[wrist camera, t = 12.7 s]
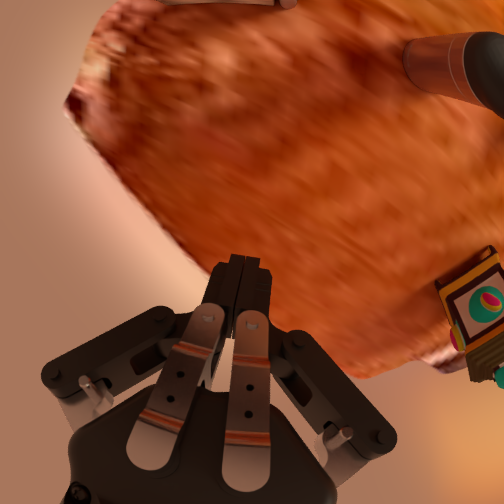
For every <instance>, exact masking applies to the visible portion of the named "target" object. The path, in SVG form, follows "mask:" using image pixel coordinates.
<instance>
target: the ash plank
mask: <svg viewBox="0 0 504 504" xmlns="http://www.w3.org/2000/svg"><path fill="white" fill-rule="evenodd" d="M156 1H159V2H161V3H163V4H166V5H176V4H190V3H247V4H261V5H271V6H274V2H275V0H156Z"/></svg>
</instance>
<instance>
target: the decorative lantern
mask: <svg viewBox="0 0 504 504" xmlns="http://www.w3.org/2000/svg"><path fill="white" fill-rule="evenodd" d="M488 251H489V253H490V255H489V256H487V257H486V258H485V259H483V260H482V261H480V262H479V263H477V264H476V265H474V266H473V267H471V268H470V269H468V270H467V271H465V272H464V273H462V274H461V275H459V276H457V277H456V278H454V279H453V280H451V281H449V282H448V283H446V284H444V285H442V284H441V283H440V281H439V280H436V281H435V287H436V289H437V291H438V294H439V296H440V299H441V301H442V304H443V307H444V309H445V312H446V315H447V318H448V321H449V324H450V326H451V327H452V328H451V329H450V337H451V341H452V344H453V346H454V348H455V349H456V350H457V351H459V352H461V351H464V350H465V358H466V362H467V367H468V371H469V376H470V381H473V382H478V383H480V382H482V381H484V380H488V379H489V380H494V382H495V381H496V382H497V385H498V387H500V388H502V389H504V270H503V269H502V267H501V265H500V260H499V255H498V252H497V251H496V249H495V248H494V247H493V246H492V245H489V246H488Z"/></svg>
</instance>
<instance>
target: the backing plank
mask: <svg viewBox="0 0 504 504" xmlns="http://www.w3.org/2000/svg"><path fill="white" fill-rule="evenodd" d="M279 1H280V5H281V6H282V7H283V8H285V9H292V8H294V7H295V6H296V4H297V0H279Z"/></svg>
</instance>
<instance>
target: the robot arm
mask: <svg viewBox="0 0 504 504" xmlns="http://www.w3.org/2000/svg"><path fill="white" fill-rule="evenodd" d="M403 65H404V68H405V71H406V73H407V75H408V77H409V78H410V80H411V81H412V82H413V83H414V84H415V85H416V86H417V87H419V88H420V89H422V90H425V91H428V92H432V93H436V94H440V95H444V96H448V97H451V98H455V99H458V100H462V101H465V102H468V103H471V104H474V105H477V106H481V107H484V108H487V109H489V110H492V111H494V112H495V113H496V114H497V115H498V116H499V117H501V118H503V119H504V35H502V34H499V33H496V32H469V33H458V34H448V35H439V36H432V37H425V38H419V39H415V40H413V41H411V42H409V43H408V44H407V46H406V47H405V49H404V53H403ZM259 263H260V258H256V257H249V256H246V260H245V256H243V255H237V254H231V256H230V260H229V263H224V262H219V263H218V264H217V265H216V266H215V267H214V268H213V271H212V273H211V276H210V279H209V282H208V285H207V288H206V291H205V294H204V297H203V300H202V302H201V305H199V306H197V307H196V308H195V310H194V311H192V312H189V313H183V314H175V313H174V312H173V310H172V309H170V308H168V307H166V306H156V307H153V308H151V309H149V310H147V311H146V312H144V313H142V314H140V315H138V316H136V317H134V318H132V319H130V320H128V321H126V322H124V323H122V324H120V325H119V326H117V327H115V328H113V329H111V330H109V331H107V332H105V333H103V334H101V335H99V336H98V337H96V338H94V339H92V340H90V341H88V342H86V343H84V344H82V345H80V346H79V347H77V348H75V349H73V350H71V351H69V352H67V353H65V354H63V355H61V356H59V357H58V358H56V359H54V360H52V361H50V362H48V363H47V364H46V365H45V366H44V367H43V369H42V372H41V379H42V382H43V384H44V385H45V386H46V387H47V388H48V389H49V390H50V391H51V393H52V394H53V395H54V396H55V397H56V398H57V399H58V401H59V403H60V406H61V408H62V410H63V412H64V414H65V416H66V418H67V420H68V422H69V424H70V426H71V428H72V430H73V431H74V434H73V435H72V437H71V439H70V441H69V445H68V456H69V461H70V468H71V481H70V486H69V488H68V490H67V492H66V494H65V496H64V498H63V499H62V501H61V503H60V504H336V502H337V489H336V488H337V487H339V486H340V485H341V484H343V483H344V482H345V481H346V480H348V479H349V478H350V477H351V476H353V475H354V474H355V473H356V472H358V471H359V470H360V469H361V468H362V467H364V466H365V465H366V464H367V463H368V462H370V461H372V460H374V459H376V458H378V457H380V456H382V455H385V454H387V453H388V452H390V451H392V450H393V448H394V447H395V445H396V443H397V433H396V431H395V429H394V428H393V427H392V426H391V425H390V423H389V422H388V421H387V420H386V419H385V418H384V417H383V416H382V415H381V414H380V413H379V411H378V410H377V409H376V408H375V407H374V406H373V405H372V404H371V402H370V401H369V400H368V399H367V398H366V397H365V396H364V395H363V394H362V392H361V391H360V390H359V389H358V388H357V387H356V386H355V385H354V384H353V382H352V381H351V380H350V379H349V378H348V377H347V376H346V375H345V373H344V372H343V371H342V370H341V369H340V368H339V367H338V366H337V364H336V363H335V362H334V361H333V360H332V359H331V358H330V357H329V355H328V354H327V353H326V352H325V351H324V350H323V349H322V348H321V346H320V345H319V344H318V343H317V342H316V341H315V340H314V338H313V337H312V336H311V335H310V334H308V333H307V332H305V331H302V330H292V331H289V332H288V333H286V332H284V331H282V330H280V329H278V328H276V327H275V326H274V325H273V324H272V323H271V322H270V320H269V305H270V295H271V285H272V275H271V273H270V271H269V270H268V269H262V268H259ZM232 330H233V333H232ZM231 334H232V339H235V342H234V351H233V362H232V370H231V380H230V391H229V392H212V391H211V387H212V382H213V379H214V376H215V373H216V370H217V367H218V364H219V360H220V357H221V354H222V351H223V347H224V344H225V339H226V338H231ZM162 368H163V369H162ZM161 369H162V371H161V373H160V375H159V378H158V380H157V382H156V384H153V385H150V386H148V387H146V388H144V389H142V390H140V391H139V392H137V393H136V394H134V395H133V396H131V397H130V398H128V399H126V400H125V401H124V402H122V403H120V404H118V405H117V406H115V407H114V408H112V409H111V407H112V405H113V402H114V399H113V397H115V396H117V395H118V394H120V393H122V392H123V391H125V390H127V389H129V388H130V387H132V386H134V385H136V384H137V383H139V382H141V381H142V380H144V379H146V378H147V377H149V376H151V375H153V374H154V373H156V372H157V371H159V370H161ZM270 373H271V374H273V377H274V379H275V380H276V382H277V383H278V384H279V386H280V387H281V388H282V390H283V391H284V392H285V394H286V395H287V396H288V398H289V399H290V400H291V402H292V403H293V404H294V405H295V407H296V408H297V409H298V410H299V412H300V413H301V414H302V415H303V417H304V418H305V419H306V421H307V422H308V423H309V424H310V426H311V427H312V428H313V429H314V431H315V432H316V433H317V434H318V436H317V438H316V439H315V442H314V447H315V451H316V452H317V454H318V456H319V462H318V461H317V459H316V458H315V457H314V455H313V454H312V453H311V451H310V450H309V449H308V447H307V446H306V444H305V443H304V442H303V440H302V439H301V438H300V436H299V435H298V433H297V432H296V431H295V429H294V428H293V427H292V425H291V424H290V422H289V421H288V419H287V418H286V417H285V416H284V414H283V413H282V412H281V411H280V410H279V409H278V408H276V407H275V406H273V405H272V404H270Z"/></svg>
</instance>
